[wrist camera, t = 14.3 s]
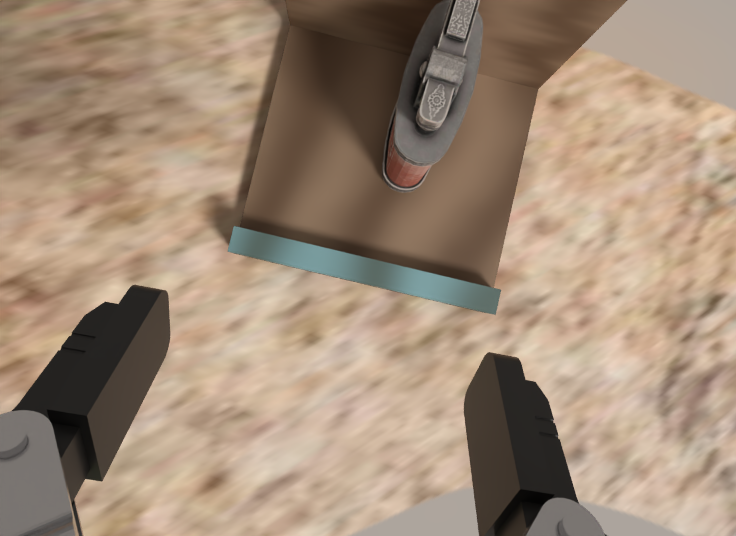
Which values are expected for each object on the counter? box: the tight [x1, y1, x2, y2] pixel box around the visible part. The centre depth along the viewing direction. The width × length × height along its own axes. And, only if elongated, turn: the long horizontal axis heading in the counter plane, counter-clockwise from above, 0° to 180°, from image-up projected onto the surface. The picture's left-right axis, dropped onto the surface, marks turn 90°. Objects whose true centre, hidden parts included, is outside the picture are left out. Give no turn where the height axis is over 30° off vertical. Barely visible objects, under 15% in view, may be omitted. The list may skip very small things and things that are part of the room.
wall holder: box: [228, 0, 627, 315], centre depth 25 cm, size 16×16×12 cm
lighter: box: [382, 0, 483, 193], centre depth 26 cm, size 8×3×10 cm, turn 164°
